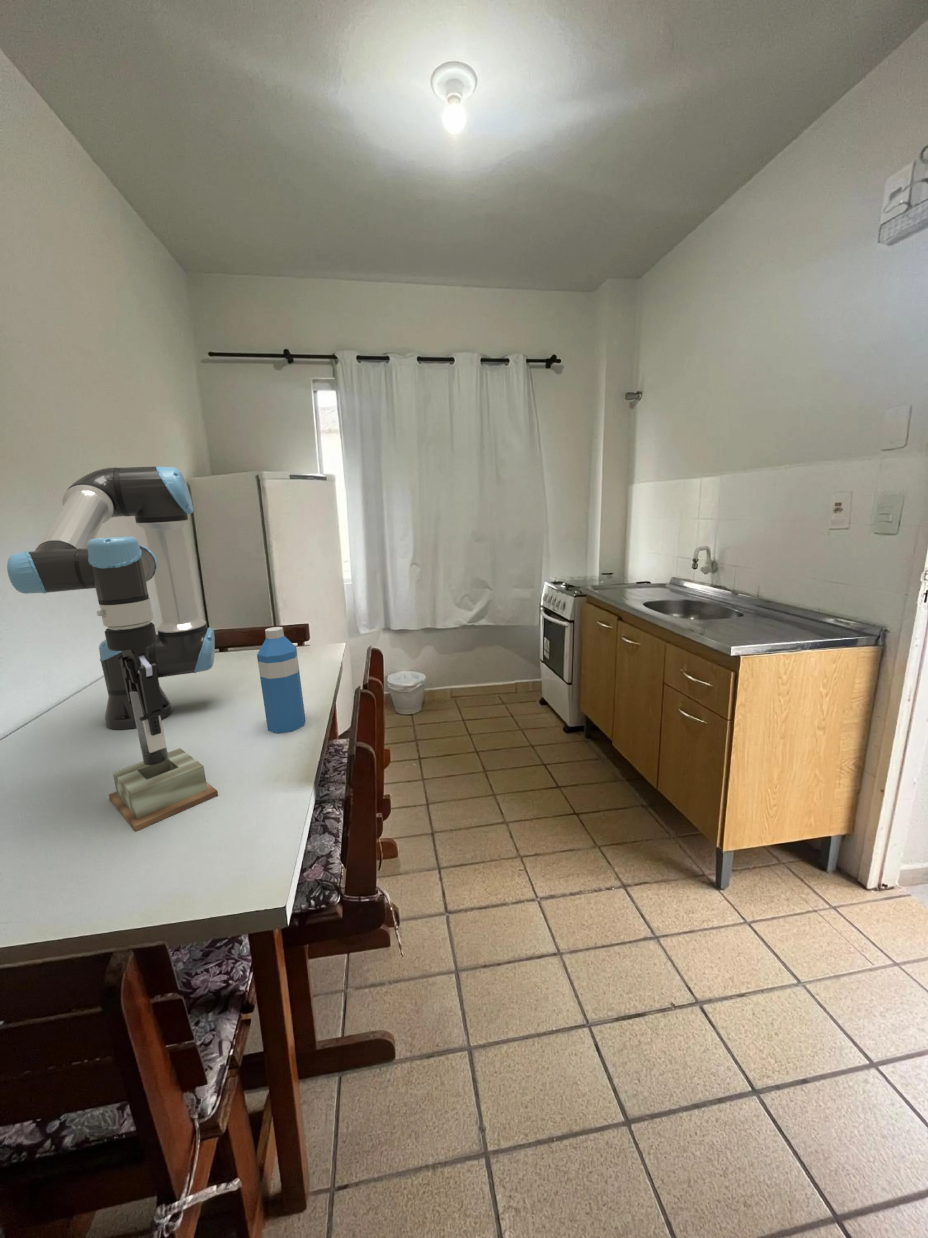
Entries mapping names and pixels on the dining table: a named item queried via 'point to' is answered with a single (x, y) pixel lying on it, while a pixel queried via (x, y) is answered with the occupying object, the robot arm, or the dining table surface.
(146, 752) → the peg
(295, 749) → the dining table surface
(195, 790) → the socket
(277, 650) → the water bottle
